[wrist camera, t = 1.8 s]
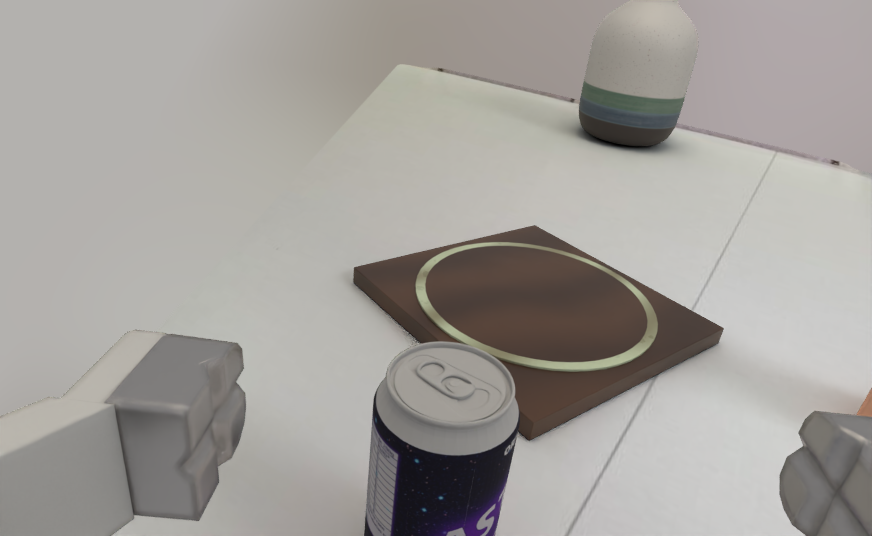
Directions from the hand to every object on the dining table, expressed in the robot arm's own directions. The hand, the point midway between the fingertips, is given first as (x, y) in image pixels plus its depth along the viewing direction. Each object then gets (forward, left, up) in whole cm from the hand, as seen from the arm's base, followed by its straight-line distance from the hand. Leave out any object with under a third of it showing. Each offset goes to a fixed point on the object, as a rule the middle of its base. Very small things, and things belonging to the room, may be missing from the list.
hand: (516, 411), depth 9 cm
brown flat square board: (-24, +29, -20) cm, 43 cm away
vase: (-59, +86, -20) cm, 106 cm away
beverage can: (-9, +7, -20) cm, 23 cm away
